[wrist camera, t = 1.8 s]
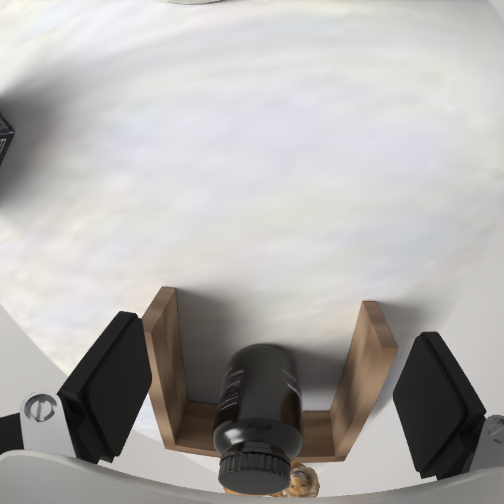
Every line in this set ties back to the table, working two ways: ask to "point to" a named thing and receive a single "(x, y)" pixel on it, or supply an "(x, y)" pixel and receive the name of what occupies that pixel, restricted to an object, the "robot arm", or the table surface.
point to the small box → (4, 136)
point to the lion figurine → (295, 484)
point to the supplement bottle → (259, 420)
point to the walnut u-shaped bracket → (315, 422)
